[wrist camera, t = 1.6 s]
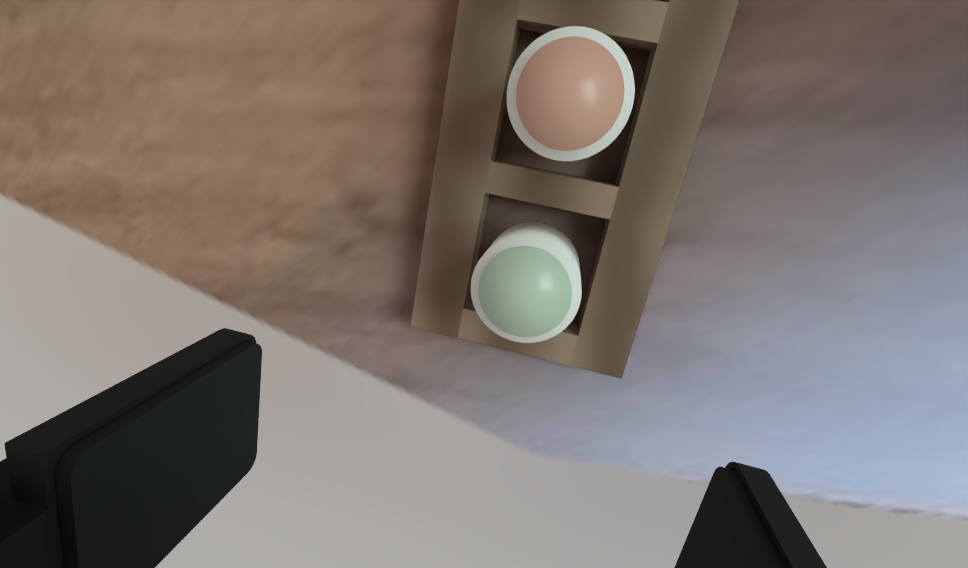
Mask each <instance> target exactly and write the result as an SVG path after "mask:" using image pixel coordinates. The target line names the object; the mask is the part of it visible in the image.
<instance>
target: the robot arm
mask: <svg viewBox="0 0 968 568" xmlns="http://www.w3.org/2000/svg"><path fill="white" fill-rule="evenodd" d="M261 358H262V349H261V346H260V345H259V344H256V340H255V337H253V336H252V335H249V334H246V333H242V332H238V331H234V330H230V329H225V328H224V329H221V330H218V331H216V332H215V333H213V334H211V335H209V336H207V337H205V338H203V339H201V340H199V341H198V342H196V343H194V344H192V345H190V346H188V347H186V348H184V349H182V350H181V351H179V352H177V353H175V354H173V355H171V356H169V357H167V358H165V359H163V360H162V361H160V362H158V363H156V364H154V365H152V366H150V367H148V368H146V369H144V370H142V371H141V372H139V373H137V374H135V375H133V376H131V377H129V378H127V379H126V380H124V381H122V382H120V383H118V384H116V385H114V386H112V387H110V388H109V389H106V390H105V391H103V392H101V393H99V394H97V395H95V396H93V397H91V398H89V399H87V400H86V401H84V402H82V403H80V404H78V405H76V406H74V407H72V408H70V409H68V410H67V411H65V412H63V413H61V414H59V415H57V416H56V417H53V418H51V419H50V420H48V421H46V422H44V423H42V424H40V425H38V426H36V427H34V428H32V429H31V430H29V431H27V432H25V433H23V434H21V435H19V436H17V437H15V438H13V439H12V440H10V441H8V442H6V443H5V450H6V457H7V458H6V459H4V460H2V461H1V462H0V568H155V567H156V566H157V565H158V564H159V563H160V562H161V561H162V560H163V558H165V557H166V555H168V553H170V551H172V549H173V548H174V547H175V546H176V545H177V544H178V543H179V542H180V541H181V540H182V539H183V538H184V537H185V536H186V535H187V534H188V533H189V532H190V531H191V530H192V529H193V528H194V527H195V526H196V525H197V524H198V523H199V522H200V521H201V520H202V519H203V518H204V517H205V516H206V515H207V514H208V513H209V512H210V511H211V510H212V509H213V508H214V507H215V506H216V505H217V504H218V503H219V502H220V500H221V499H223V498H224V496H225V495H226V494H227V493H228V492H229V491H230V490H231V489H232V488H233V487H234V486H235V485H236V484H237V483H238V482H239V481H240V480H241V479H242V478H243V477H244V476H245V475H246V474H247V473H248V472H249V471H250V469H251V467H252V466H253V464H254V462H255V458H256V454H257V436H258V418H259V398H260V379H261V360H262V359H261ZM675 568H827V567H826V566H825V564H824V562H823V561H822V559H821V557H820V556H819V554H818V552H817V551H816V549H815V548H814V546H813V544H812V543H811V541H810V540H809V538H808V537H807V535H806V533H805V531H804V530H803V528H802V526H801V525H800V523H799V522H798V520H797V518H796V517H795V515H794V513H793V512H792V510H791V509H790V507H789V505H788V504H787V502H786V500H785V499H784V497H783V495H782V494H781V492H780V491H779V489H778V487H777V486H776V484H775V482H774V481H773V479H772V477H771V476H770V474H769V473H768V472H767V471H765V470H763V469H759V468H755V467H751V466H747V465H744V464H740V463H736V462H730V463H729V464H728V465H726V467H725V468H723V467H718V468H717V469H716V470H715V472H714V474H713V476H712V478H711V481H710V483H709V486H708V488H707V490H706V493H705V495H704V498H703V500H702V503H701V505H700V507H699V510H698V512H697V515H696V517H695V520H694V522H693V524H692V527H691V529H690V532H689V534H688V536H687V539H686V541H685V544H684V546H683V549H682V551H681V553H680V556H679V558H678V561H677V563H676V566H675Z"/></svg>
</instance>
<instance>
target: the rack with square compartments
mask: <svg viewBox="0 0 968 568" xmlns="http://www.w3.org/2000/svg"><path fill="white" fill-rule="evenodd" d="M738 3H739V0H664V2H662V1H655V0H459V5H458V12H457V19H456V25H455V32H454V39H453V45H452V52H451V59H450V65H449V72H448V79H447V86H446V92H445V99H444V106H443V112H442V119H441V126H440V132H439V139H438V146H437V152H436V159H435V166H434V172H433V179H432V186H431V192H430V199H429V206H428V212H427V219H426V226H425V232H424V239H423V246H422V252H421V259H420V266H419V272H418V279H417V286H416V292H415V299H414V306H413V312H412V319H411V326H412V327H416V328H420V329H424V330H428V331H432V332H436V333H440V334H444V335H448V336H452V337H456V338H460V339H464V340H468V341H472V342H476V343H480V344H484V345H488V346H492V347H497V348H501V349H505V350H509V351H513V352H517V353H521V354H525V355H529V356H533V357H537V358H541V359H545V360H549V361H553V362H557V363H561V364H565V365H569V366H573V367H577V368H581V369H585V370H589V371H593V372H597V373H601V374H606V375H610V376H614V377H618V378H622V376H623V373H624V369H625V366H626V363H627V360H628V357H629V353H630V350H631V347H632V344H633V340H634V337H635V334H636V331H637V328H638V324H639V321H640V318H641V315H642V312H643V308H644V305H645V302H646V299H647V296H648V292H649V289H650V286H651V283H652V279H653V276H654V273H655V270H656V267H657V263H658V260H659V257H660V254H661V251H662V247H663V244H664V241H665V238H666V235H667V231H668V228H669V225H670V222H671V219H672V215H673V212H674V209H675V206H676V202H677V199H678V196H679V193H680V190H681V186H682V183H683V180H684V177H685V174H686V170H687V167H688V164H689V161H690V158H691V154H692V151H693V148H694V145H695V141H696V138H697V135H698V132H699V129H700V125H701V122H702V119H703V116H704V113H705V109H706V106H707V103H708V100H709V97H710V93H711V90H712V87H713V84H714V80H715V77H716V74H717V71H718V68H719V64H720V61H721V58H722V55H723V52H724V48H725V45H726V42H727V39H728V36H729V32H730V29H731V26H732V23H733V20H734V16H735V13H736V10H737V7H738ZM567 26H581V27H587V28H591V29H595V30H597V31H600V32H602V33H603V34H605V35H607V36H608V37H610V38H611V39H612V40H613V41H615V42H616V43H617V45H618V46H622V47H628V48H634V49H639V50H645V51H651V52H650V56H649V60H648V64H647V67H646V71H645V75H644V78H643V82H642V86H641V90H640V93H639V97H638V101H637V105H636V108H635V112H634V116H633V119H632V123H631V127H630V131H629V134H628V138H627V142H626V146H625V149H624V153H623V157H622V160H621V164H620V168H619V172H618V175H617V179H616V183H615V184H613V183H608V182H603V181H598V180H593V179H588V178H583V177H578V176H573V175H568V174H563V173H559V172H554V171H549V170H544V169H539V168H534V167H529V166H524V165H519V164H514V163H509V162H504V161H499V160H497V154H498V149H499V144H500V139H501V133H502V128H503V123H504V117H505V112H506V107H507V87H508V82H509V78H510V75H511V72H512V70H513V67H514V64H515V59H516V54H517V48H518V43H519V38H520V33H521V29H522V30H528V31H534V32H540V33H548V32H550V31H552V30H555V29H558V28H562V27H567ZM490 194H492V195H497V196H502V197H506V198H511V199H516V200H520V201H525V202H530V203H535V204H539V205H544V206H549V207H554V208H558V209H563V210H568V211H572V212H577V213H582V214H587V215H591V216H596V217H601V218H606V220H605V224H604V228H603V231H602V235H601V239H600V242H599V246H598V250H597V254H596V257H595V261H594V265H593V269H592V272H591V276H590V280H589V283H588V287H587V291H586V295H585V298H584V302H583V306H582V310H581V313H580V317H579V321H578V323H576V322H571V323H570V324H569V325H568V326H567V327H566V328H565V329H564V330H563V331H562V332H561V333H559V334H557V335H556V336H554V337H552V338H550V339H547V340H544V341H540V342H535V343H520V342H515V341H511V340H508V339H506V338H503V337H501V336H499V335H498V334H496V333H494V332H493V331H492V330H491V329H489V328H488V327H487V326H486V325H485V324H484V323H483V321H482V320H481V319H480V317H479V316H478V314H477V312H476V310H475V308H474V305H473V302H472V298H471V279H472V275H473V272H474V269H475V267H476V265H477V260H478V255H479V250H480V245H481V239H482V234H483V229H484V223H485V218H486V213H487V207H488V202H489V197H490Z"/></svg>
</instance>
